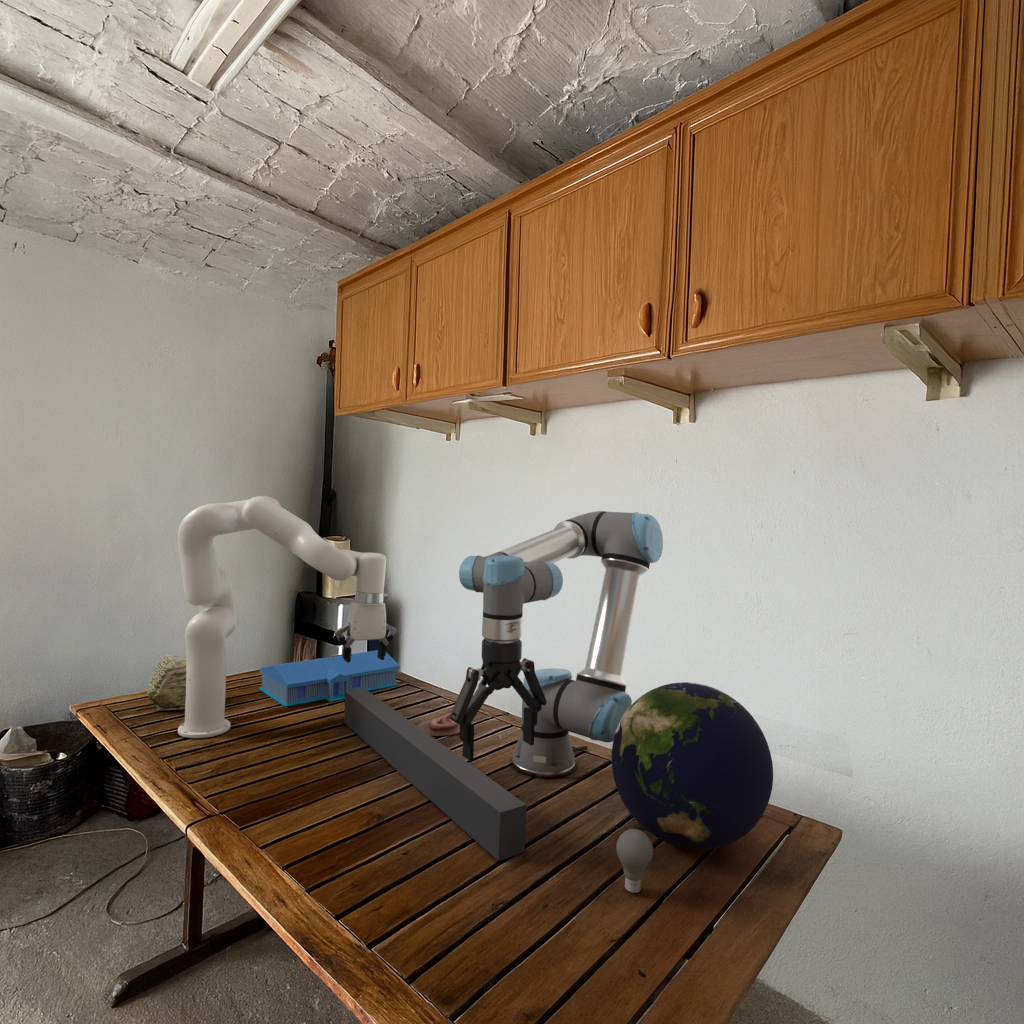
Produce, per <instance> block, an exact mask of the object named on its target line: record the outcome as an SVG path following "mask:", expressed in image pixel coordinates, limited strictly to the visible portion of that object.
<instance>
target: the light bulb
mask: <svg viewBox="0 0 1024 1024" xmlns="http://www.w3.org/2000/svg"><path fill="white" fill-rule="evenodd" d="M615 849H616V854H617V857H618V859H619V861H620V863H621V865H622V867H623V873H624V874H623V875H624V876H625V878H624V888H625V890H627V891H628V892H630V893H634V894H635V893H639V892H640V891H641V889H642V887H641V886H642V879H643V877H644V875H645V871H646V868H647V867H648V866H649V864H650V863H651V861H652V859H653V855H654V847H653V843H652V841H651V838H649V836H648V835H647V834H646V833H645V832H643V831H642V830H641V829H636V828H629V829H627V830H625V831H623V832H622V833H621V834H620V835H619V837H618V839H617V841H616V847H615Z"/></svg>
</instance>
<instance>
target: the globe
mask: <svg viewBox="0 0 1024 1024" xmlns="http://www.w3.org/2000/svg"><path fill="white" fill-rule="evenodd" d="M611 745H612V746H611V757H610V758H611V771H612V776H613V780H614V784H615V787H616V790H617V792H618V795H619V797H620V799H621V801H622V803H623V804H624V806H625V808H626V809H627V811H628V813H629V815H631V816H632V817H633V819H634V820H635V821H636V822H637V823H638V824H639V825H640V826H641V827H642V828H643V829H644V830H645V831H647V832H648V833H649V834H651V835H652V836H653V837H655V838H656V839H659V840H660V841H662V842H664V843H666V844H668V845H671V846H673V847H676V848H680V849H683V850H684V849H685V850H690V851H691V850H692V851H710V850H716V849H720V848H723V847H726V846H729V845H731V844H733V843H735V842H737V841H739V840H740V839H742V838H744V837H745V836H746V835H747V834H748V833H750V832H751V831H752V830H753V828H755V826H756V825H757V824H758V822H759V821H760V820H761V819H762V817H763V815H764V813H765V812H766V810H767V807H768V805H769V803H770V799H771V796H772V791H773V786H774V785H773V784H774V767H773V766H774V763H773V759H772V753H771V749H770V746H769V743H768V741H767V738H766V736H765V734H764V732H763V730H762V728H761V727H760V725H759V724H758V722H757V721H756V720H755V718H754V717H753V715H752V714H751V713H750V711H748V709H747V708H746V707H745V706H744V705H742V704H741V702H739V701H737V700H736V699H735V698H733V697H732V696H730V695H729V694H728V693H725V692H723V691H721V690H720V689H718V688H715V687H712V686H709V685H705V684H702V683H697V682H692V681H691V682H690V681H685V682H682V681H681V682H673V683H667V684H663V685H660V686H657V687H654V688H652V689H650V690H649V691H647V692H645V693H644V694H642V695H640V697H639V698H637V699H636V700H635V701H633V702H632V704H631V706H630V707H629V708H628V710H627V711H626V712H625V714H624V715H623V717H622V718H621V720H620V722H619V724H618V727H617V729H616V732H615V736H614V739H613V742H612V744H611Z"/></svg>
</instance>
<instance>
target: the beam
mask: <svg viewBox="0 0 1024 1024" xmlns="http://www.w3.org/2000/svg"><path fill="white" fill-rule="evenodd" d="M343 717H344V718H343V723H344V724H345V725H346V726H347V727H348V728H349V729H350V730H351V731H353V733H355V735H357V736H358V737H359V738H361V739H362V740H363V741H364V742H365V744H367V745H368V746H369V747H370V748H372V749H373V750H374V751H375V752H376V753H377V754H378V755H379V756H381V758H383V759H384V760H385V761H386V762H387V763H388V764H389V765H390V766H392V767H393V768H394V769H395V770H396V771H397V772H398V773H400V775H402V776H403V777H404V778H405V779H406V780H407V781H408V782H409V783H410V784H412V785H413V786H414V787H415V788H416V789H417V790H418V791H420V792H421V793H422V794H423V795H424V796H425V797H426V798H427V799H428V800H429V801H431V802H432V803H433V805H435V806H436V807H437V808H439V809H440V810H441V811H442V812H443V813H444V814H445V815H446V816H447V817H448V818H450V819H451V820H452V821H453V822H454V823H455V824H456V825H457V826H458V827H460V828H461V829H462V830H463V831H464V832H465V833H466V834H467V835H469V837H471V838H472V839H473V840H474V841H475V842H476V843H477V844H479V846H481V847H482V848H483V849H484V850H485V851H486V852H487V853H488V854H490V855H491V857H493V858H494V859H496V860H497V862H501V861H503V860H506V859H508V858H511V857H515V856H518V855H521V854H522V853H523V854H524V853H525V851H526V834H527V833H526V832H527V830H526V828H527V810H528V809H527V807H528V805H527V803H525V802H524V801H522V800H521V799H519V798H518V797H517V796H515V795H514V794H513V793H511V792H510V791H508V790H507V789H506V788H504V787H503V786H502V785H500V784H498V783H497V782H496V781H494V779H491V777H490V776H488V775H486V774H485V773H484V772H482V771H480V770H479V769H477V767H475V766H474V765H472V764H471V763H469V762H468V761H467V760H465V759H463V757H461V756H460V755H459V754H457V753H455V752H454V751H453V750H451V749H450V748H448V747H447V746H446V745H444V744H443V743H441V742H440V741H439V740H437V739H436V738H435V737H434V736H430V735H429V734H427V733H426V732H424V731H423V730H422V729H420V728H419V727H418V726H417V725H416V724H415V723H413V722H412V721H411V720H409V719H407V718H406V717H405V716H404V715H402V714H401V713H399V712H398V711H397V710H395V709H394V708H393V707H392V706H390V705H388V704H387V703H385V702H384V701H383V700H382V699H380V698H378V697H377V696H375V695H374V694H373V693H371V692H370V691H367V690H366V689H361V690H354V691H346V692H345V699H344V716H343Z"/></svg>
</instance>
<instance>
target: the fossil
mask: <svg viewBox="0 0 1024 1024" xmlns="http://www.w3.org/2000/svg"><path fill="white" fill-rule="evenodd" d="M186 665H187V656H183V657H182V656H178V655H175V654H174V655H173V654H165V655H164V656H163V657H162V658H161V659H160V660H159V662H158V663H157V666H156V667H155V669H154V670H153V672H152V675H151V677H150V680H149V684H148V688H147V697H148V699H149V700H150V701H152V703H153V704H154V706H155V711H158V712H159V711H162V712H163V711H177V710H185V701H186Z"/></svg>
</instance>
